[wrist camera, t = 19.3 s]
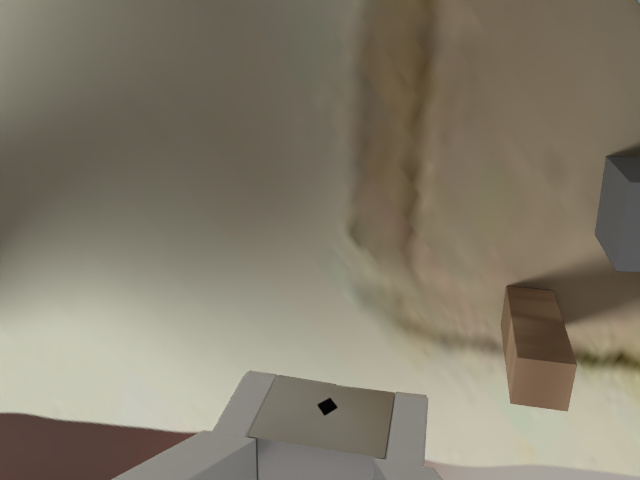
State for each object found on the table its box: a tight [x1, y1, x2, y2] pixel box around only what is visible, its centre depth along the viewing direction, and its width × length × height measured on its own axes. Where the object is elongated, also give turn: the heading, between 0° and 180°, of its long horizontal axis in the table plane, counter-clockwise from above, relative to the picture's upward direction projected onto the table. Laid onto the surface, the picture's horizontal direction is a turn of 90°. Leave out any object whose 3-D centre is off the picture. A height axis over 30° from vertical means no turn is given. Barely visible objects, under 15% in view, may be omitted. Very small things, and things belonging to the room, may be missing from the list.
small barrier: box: [501, 286, 577, 411], centre depth 23 cm, size 2×33×7 cm, turn 0°
